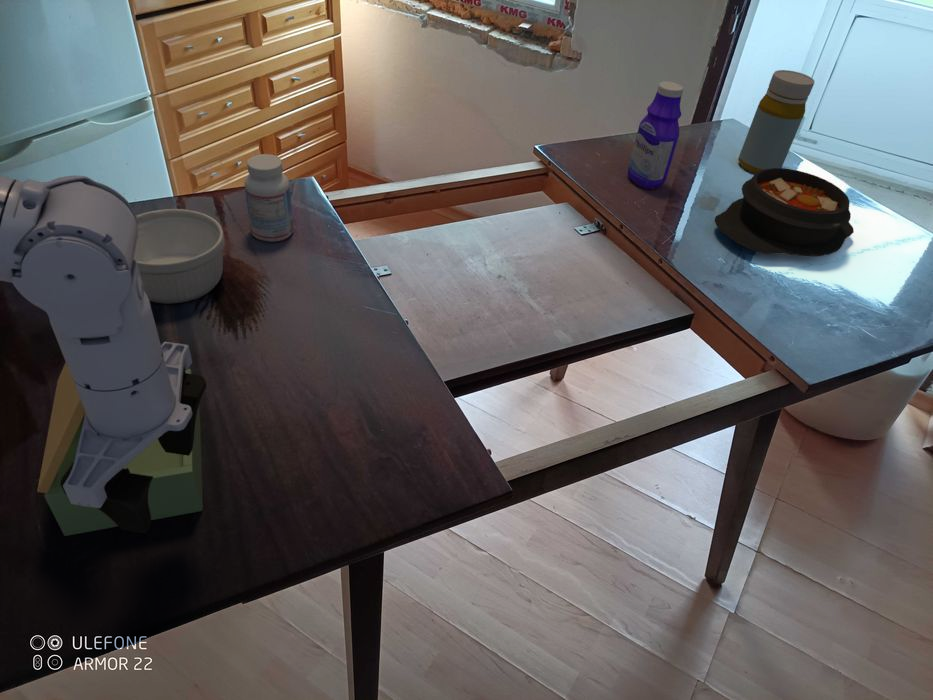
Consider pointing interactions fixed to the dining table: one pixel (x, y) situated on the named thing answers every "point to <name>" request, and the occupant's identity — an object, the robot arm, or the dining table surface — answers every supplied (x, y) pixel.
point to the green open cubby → (172, 474)
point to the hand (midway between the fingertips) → (158, 487)
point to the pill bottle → (268, 199)
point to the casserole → (788, 214)
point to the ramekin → (178, 254)
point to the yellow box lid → (60, 428)
